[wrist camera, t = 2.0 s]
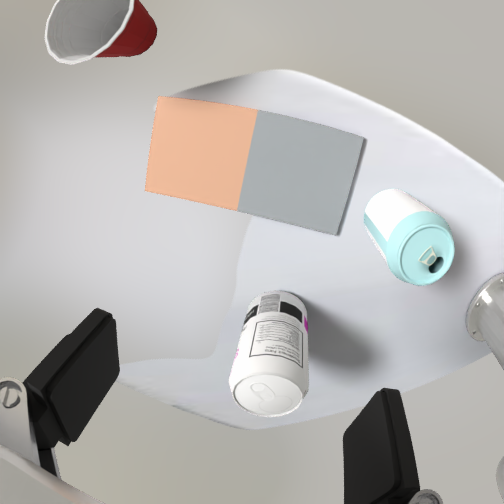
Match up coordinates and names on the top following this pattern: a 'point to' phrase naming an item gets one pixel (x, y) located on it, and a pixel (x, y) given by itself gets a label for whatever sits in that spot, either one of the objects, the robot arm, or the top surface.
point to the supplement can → (272, 356)
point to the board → (252, 162)
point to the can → (409, 237)
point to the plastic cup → (98, 29)
